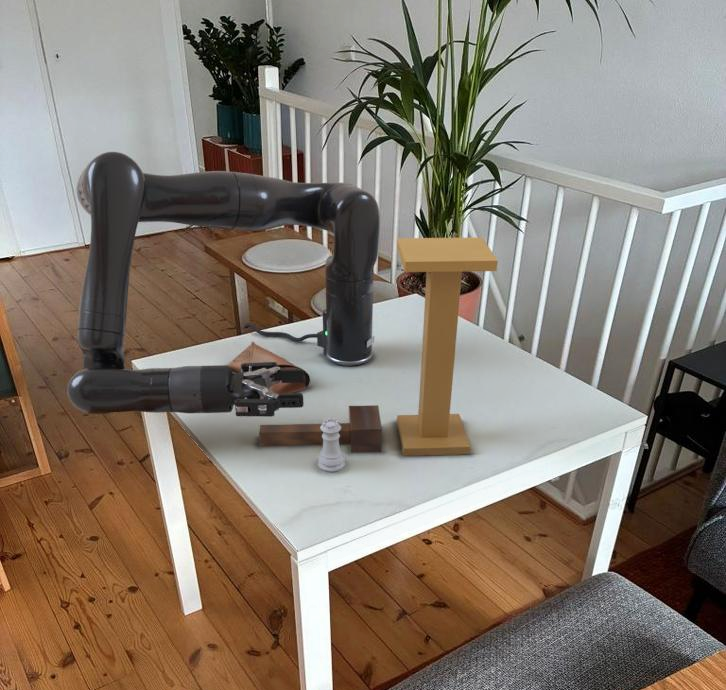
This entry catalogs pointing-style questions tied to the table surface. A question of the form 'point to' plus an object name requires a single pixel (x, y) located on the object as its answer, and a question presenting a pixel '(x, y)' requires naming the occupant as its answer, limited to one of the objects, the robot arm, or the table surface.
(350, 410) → the walnut mallet
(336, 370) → the table surface
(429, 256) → the pedestal
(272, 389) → the sunglasses case
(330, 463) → the rook chess piece
